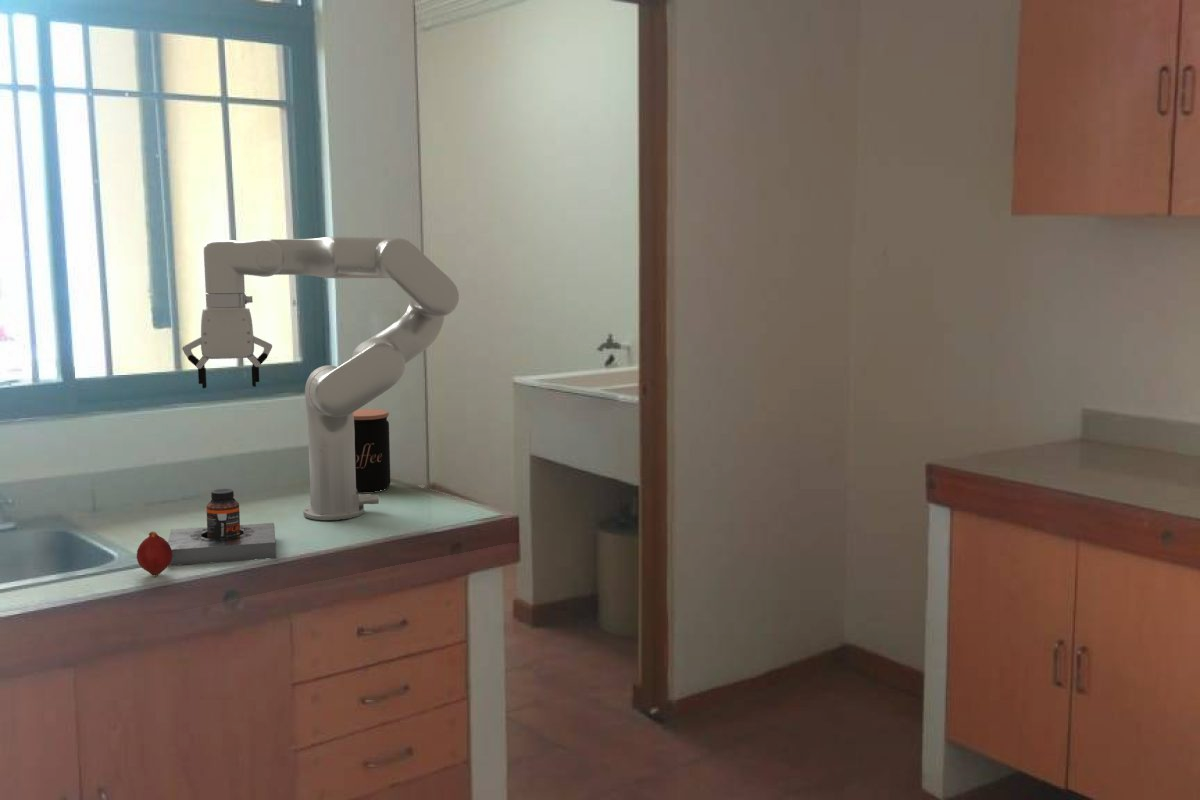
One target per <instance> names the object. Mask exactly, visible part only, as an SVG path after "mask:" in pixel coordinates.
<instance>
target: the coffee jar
mask: <svg viewBox="0 0 1200 800" xmlns="http://www.w3.org/2000/svg"><path fill="white" fill-rule="evenodd" d="M353 415H354V429H355V470H356V489H357V491H358V492H374V493H376V492H375V491H380V490H384V489H386V488H387V487H388V488H389V486H390V485H391V455H390V454H391V453H390V452H391V451H390V423H389V420H388V419H387V418H388V417H389V415H390V414H389V411H388V410H386V409H379V408H378V409H376V408H359V409H358V410H356V411H354V412H353ZM388 488H387V489H388ZM387 489H386V490H387ZM384 491H385V490H384ZM380 492H381V491H380Z"/></svg>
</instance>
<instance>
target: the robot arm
mask: <svg viewBox="0 0 1200 800" xmlns="http://www.w3.org/2000/svg"><path fill="white" fill-rule="evenodd" d="M203 260H204V261H203V264H204V286H205V287H204V288H205V304H206V305H205V307H206V308H203V309H202V312H201V319H200V324H201V325H200V337H199V338H197V339H195V340H192V341H191V342H189V343H187V344H185V345H183V346H182V347H181V350H182V351H183V353H184V355H185V356H186V357H187V360H188V361H189V362H190V363H191V364H193V365H194V366H195V367H196V368H197V375H198V376H197V377H198V385H201V386H202V389H206V388H207V384H208V383H207V369H206V368H207V367H206V366H205V365H206V363H207V362H208V361H209V360H223V359H225V360H226V359H227V360H228V359H229V360H231V359H245V358H246V359H247V360H249V362H250V363H251V364H252V365H251V384H252V387H257V383H260V366H261V365H262V364H263V363H264V362H265V361H266V359H267V358H268V357H269V355H270V352H271V350H272V348H273V344H272V343H270V342H268V341H266V340H263V339H261V338H259V337H258V336H255V335H254V327H253V319H252V313H251V310H250V308H248V307H246V305H247V304H251V303H253V302H254V301H253V295H248V294H246V289H245V287H246V286H245V276H253V277H264V278H265V277H266V278H267V277H272V276H280V275H281V276H282V275H283V276H286V275H287V276H288V275H289V276H292V275H293V276H311V277H318V278H324V279H391V280H392V281H393V282H394V283H395V284H396V285H397V286H398V287H399V288H400V289H401V290H402V291H403V292H404V293H406V294H407V296H408V299H409V300H408V306H407V309H406V311H405V313H404V314H403V315H402V316H401V317H399V318H398V320H396V321H395V322H393V323H391V325H389V326H388V327H385V329H383V330H380V332H378V333H377V334H374V335H373V336H372V337H370V338H369V339H366V340H364V341H362V342H361V343H360V344H358V345H357V346H356V348H354V350H353V352H352V354H351V358H350V359H348V360H347V361H345V362H344V363H342V364H341V365H339V366H337V365H330V364H329V365H322V366H319V367H317V368H316V369H314V370H313V371H311V373H310V375H309V376H308V378H307V379H306V383H305V388H304V395H305V396H304V397H305V406H306V407H305V408H306V414H307V415H306V416H307V430H308V431H307V433H308V434H307V435H308V464H309V465H308V466H309V493H310V495H309V496H310V505H308V506H306V507H305V508H304V509H303V510H302V512H303V516H304V517H305V518H306V519H307V518H308V519H310V520H315V521H316V520H317V521H339V520H340V519H342V520H348V519H347V518H349V519H353V518H356V516H357V517H359V515H360V516H361V515H363V514H364V512H365V507H364V505H378V504H379V503H380V502H379V501H380V500H379V497H380V496H379V494H372V493H358V491H357V489H356V470H355V429H354V415H353V412H354V411H356V410H358V409H362V407H364V406H365V405H368V403H370V402H372V401H373V400H374V399H376V398H377V397H380V396H381V395H382V394H384V393H386V392H387V391H388V390H390V389H391V388H392V387H394V386H395V385H396V384H397V383H398V382H399V381H400V380H401V378H402V377H403V375H404V373H405V369H406V364H407V363H409V362H410V361H412V360H413V359H414V358H416V357H417V356H419V355H420V354H421V353H423V352H425V350H427V349H428V348H429V347H430V346H431V345H432V344H433V343H434V342H435V341H436V339H437V337H438V336H439V334H440V331H441V330H442V327H443V324H444V320H445V316H448V315H450V314H451V313H453V311H455V310H456V307H457V306H458V304H459V299H460V293H459V290H458V287H457V285H456V283H454V281H453V280H452V279H451V278H450V277H449V276H448V275H447V274H446V273H444V272H443V270H442V269H440V268H439V267H438V266H437V265H436V264H435V263H434V262H433V261H431V259H430V258H428V257H427V256H426V255H425V254H424V253H423V252H422V251H421V250H420V249H419V248H418V247H417V246H415V244H413V243H412V242H411V241H410V240H407V239H405V238H402V237H374V236H371V237H369V236H368V237H364V236H363V237H362V236H360V237H358V236H357V237H354V236H327V237H325V236H324V237H317V238H256V239H255V238H254V239H252V240H247V241H245V240H244V241H238V240H235V239H233V240H232V239H231V240H230V239H215V240H214V239H213V240H208V241H206V242H205V243H204V245H203ZM255 345H257V346H260V347H262V348H263V350H262V353H261V354H259V356H258V357H257V356H255V355H254V350H255ZM199 346H200V349H201V355H202V356H201V357H200V358H197V356H195V355H194V353H193V352H192V350H194V349H195V348H197V347H199ZM352 517H353V518H352Z"/></svg>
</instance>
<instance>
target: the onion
mask: <svg viewBox="0 0 1200 800" xmlns="http://www.w3.org/2000/svg"><path fill="white" fill-rule="evenodd" d="M171 560H172V550H171V547H170V545H169V543H168V541H167V540H166V539H164V537H161V536H160V535H159V534H158V533H157V532H156V531H153V530H151V531H150V532H149V533H148V537H146V538H144V540H143V541H141V543H140V545H139V546H138V548H137V550H136V561H137V563H138V565H139V566H140V568H141V569H143V570H145V571H146V572H148V573H149V574H150V575H151V576H154V577H157V576H158V575H161V573H162V572H164V571H165V570H166V569H167V568H168V567H169V566H168V565H169V564H170V562H171ZM156 575H157V576H156Z"/></svg>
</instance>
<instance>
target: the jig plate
mask: <svg viewBox="0 0 1200 800" xmlns="http://www.w3.org/2000/svg"><path fill="white" fill-rule="evenodd" d="M167 542H168V543H169V545H170V547H171V550H172V560H171V562H170V564H169V565H176V566H186V564H189V565H199V564H198V563H203V564H211V563H210V562H216V563H228V562H239V561H241V562H242V561H252V560H253V561H254V560H255V559H257V560H267V559H266V558H270V559H277V543H276V542H277V541H276V529H275V523H274V522H268V523H267V522H266V523H249V524H240V536H237V537H233V538H227V539H208V538H207V526H205V527H204V526H203V527H191V528H190V527H187V528H176V529H175V528H174V529H171V530H170V532H169V536H168V541H167ZM255 561H256V560H255ZM169 565H168V567H170V566H169Z"/></svg>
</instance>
